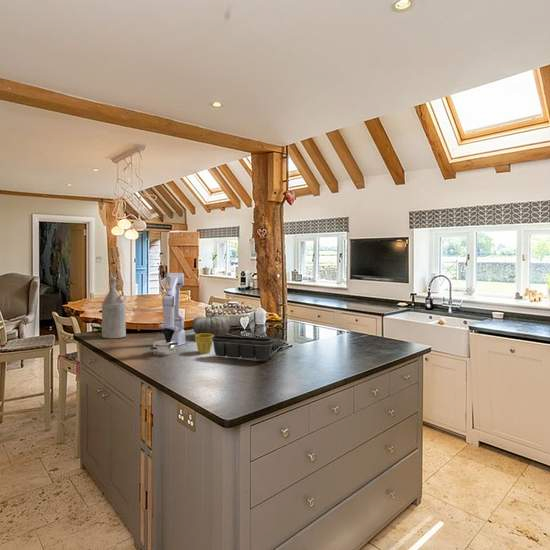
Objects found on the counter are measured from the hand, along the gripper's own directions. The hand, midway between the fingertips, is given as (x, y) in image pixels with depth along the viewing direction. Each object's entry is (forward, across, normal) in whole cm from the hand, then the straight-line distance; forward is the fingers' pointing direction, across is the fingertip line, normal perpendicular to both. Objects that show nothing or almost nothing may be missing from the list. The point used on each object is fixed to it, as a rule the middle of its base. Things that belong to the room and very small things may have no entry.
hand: (168, 342), depth 217 cm
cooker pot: (+7, -4, 0) cm, 8 cm away
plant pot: (+7, +11, +16) cm, 21 cm away
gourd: (+7, -17, +48) cm, 51 cm away
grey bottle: (+7, -64, +6) cm, 64 cm away
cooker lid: (+1, -3, 0) cm, 3 cm away
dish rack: (+7, +31, +35) cm, 47 cm away
